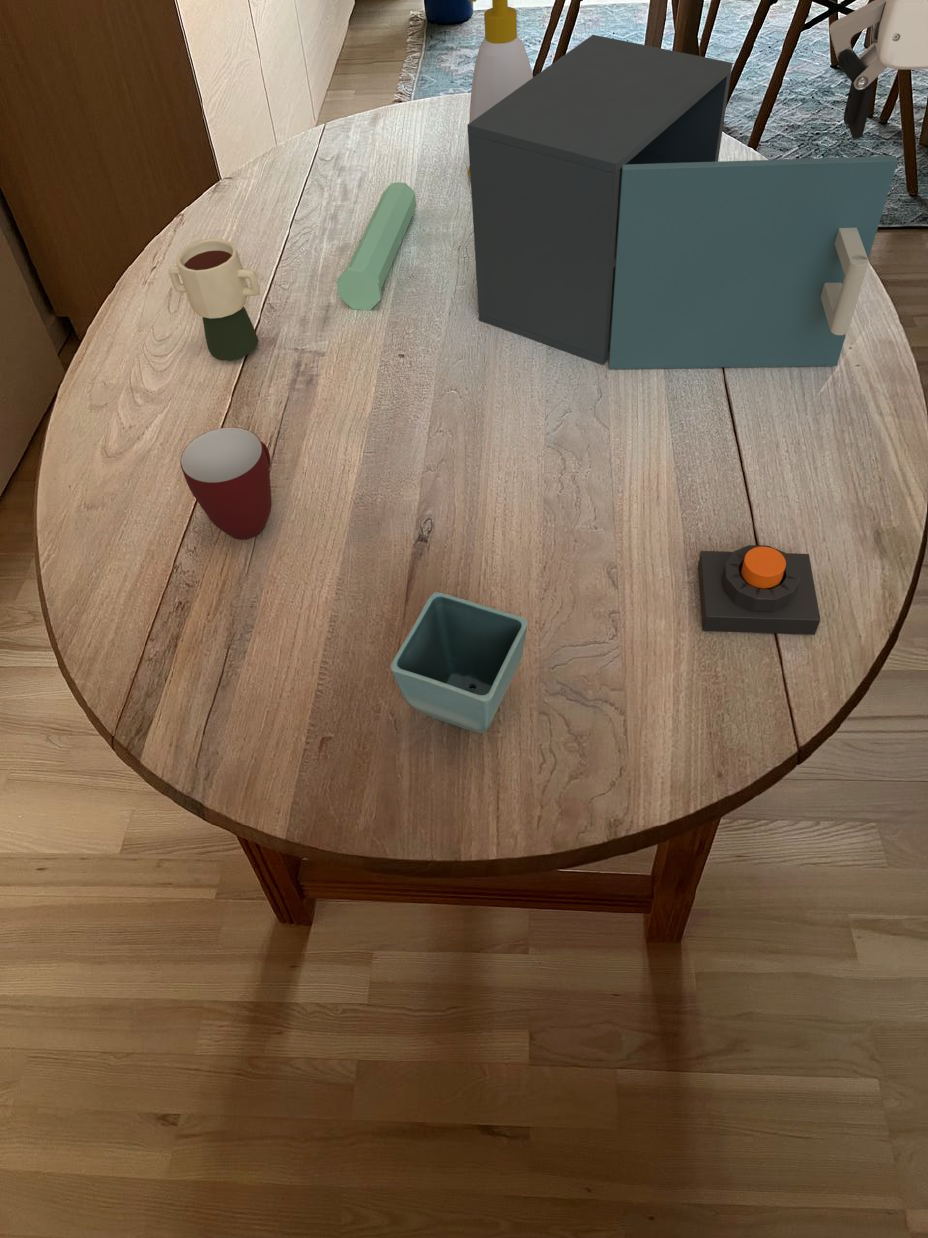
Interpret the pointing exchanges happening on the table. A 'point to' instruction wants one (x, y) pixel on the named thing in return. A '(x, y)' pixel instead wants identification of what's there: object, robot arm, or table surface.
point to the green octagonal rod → (377, 248)
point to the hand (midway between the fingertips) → (912, 129)
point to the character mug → (218, 295)
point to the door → (742, 260)
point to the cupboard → (579, 180)
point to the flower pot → (459, 660)
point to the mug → (230, 479)
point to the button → (763, 567)
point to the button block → (756, 596)
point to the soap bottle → (498, 60)
